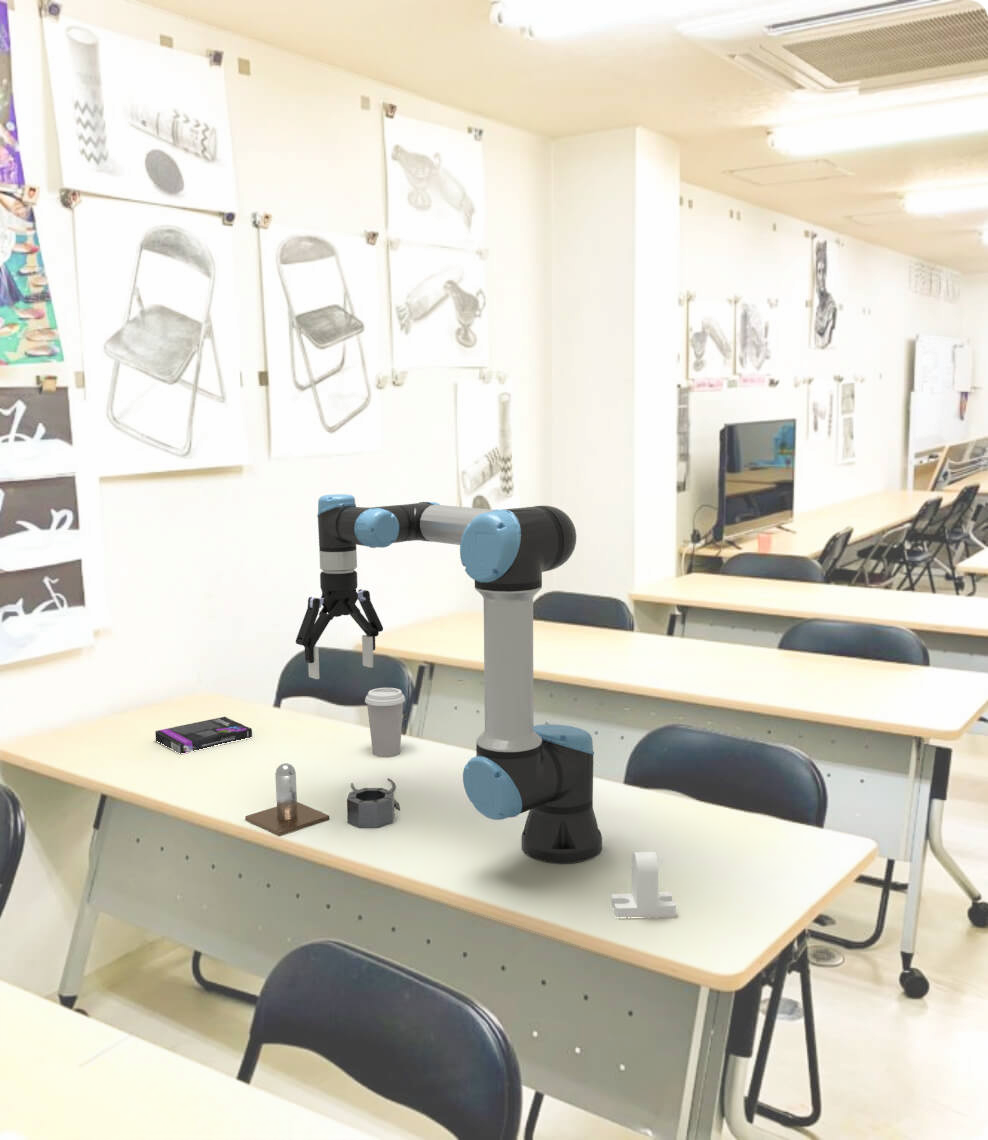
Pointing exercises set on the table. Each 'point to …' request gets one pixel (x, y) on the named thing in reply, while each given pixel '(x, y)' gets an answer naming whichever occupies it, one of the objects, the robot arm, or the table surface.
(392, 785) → the pliers
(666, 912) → the white bearing bracket
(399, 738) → the coffee cup
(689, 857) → the table surface
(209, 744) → the box
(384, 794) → the ring
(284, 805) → the piston post
